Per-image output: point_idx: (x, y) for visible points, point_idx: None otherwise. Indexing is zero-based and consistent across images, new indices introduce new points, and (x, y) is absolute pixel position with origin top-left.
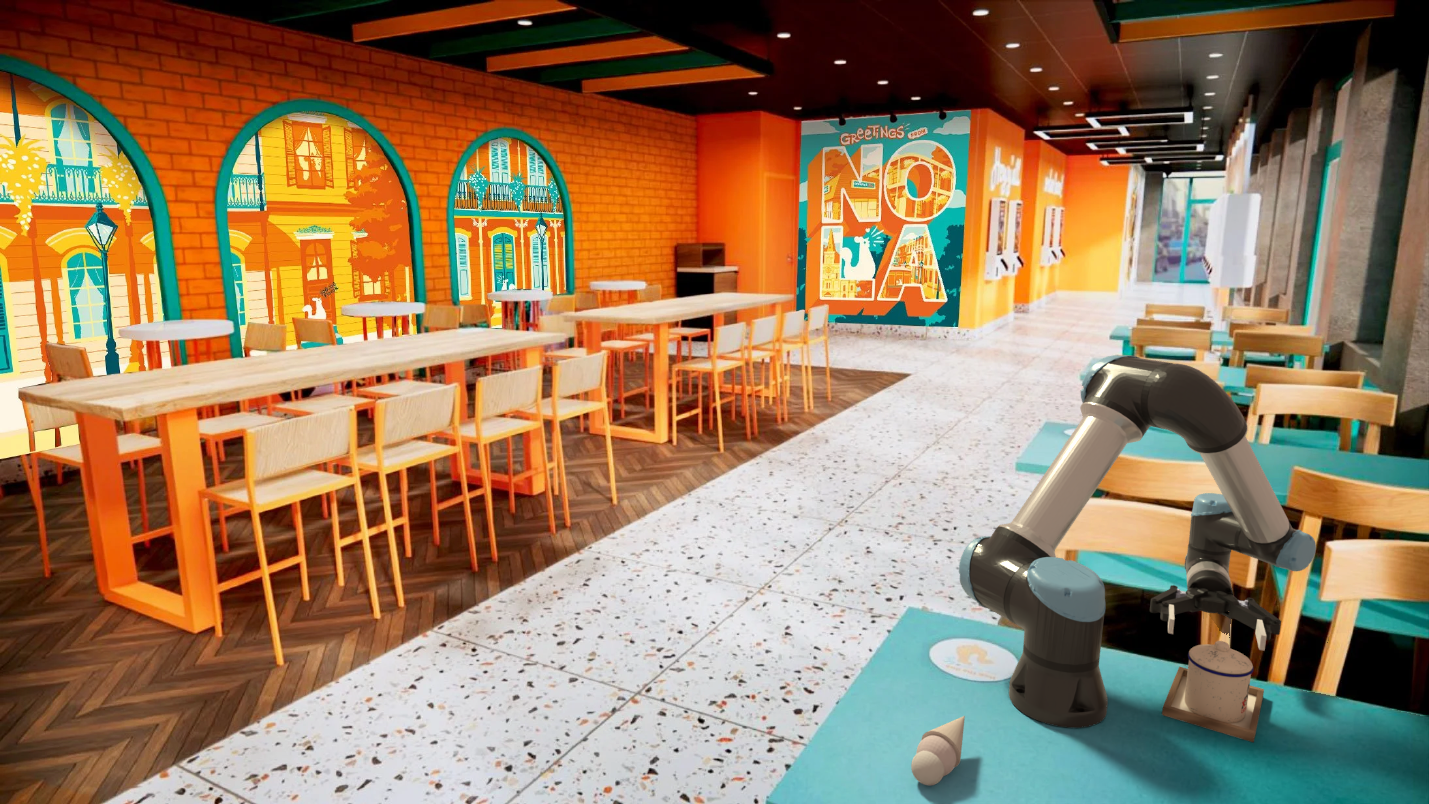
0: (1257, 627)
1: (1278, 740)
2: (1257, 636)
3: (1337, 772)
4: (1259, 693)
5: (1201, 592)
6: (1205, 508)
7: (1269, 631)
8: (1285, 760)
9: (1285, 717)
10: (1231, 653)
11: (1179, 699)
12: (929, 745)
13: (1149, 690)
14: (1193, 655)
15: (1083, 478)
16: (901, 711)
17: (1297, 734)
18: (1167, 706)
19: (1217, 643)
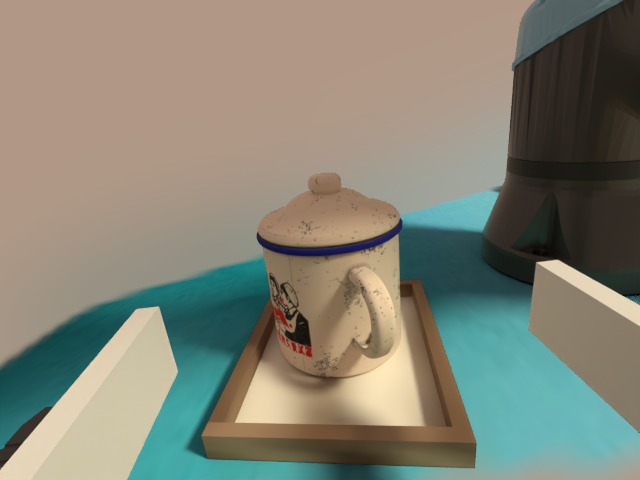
0: (79, 465)
1: (236, 318)
2: (123, 448)
3: (178, 296)
4: (226, 402)
5: None
6: None
7: (41, 416)
8: (242, 289)
9: (187, 388)
10: (304, 193)
11: (411, 335)
12: None
13: (484, 345)
14: (383, 201)
15: None
16: None
17: (192, 345)
18: (414, 281)
19: (334, 173)
